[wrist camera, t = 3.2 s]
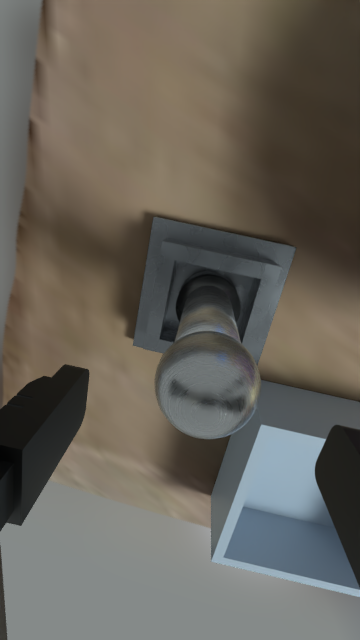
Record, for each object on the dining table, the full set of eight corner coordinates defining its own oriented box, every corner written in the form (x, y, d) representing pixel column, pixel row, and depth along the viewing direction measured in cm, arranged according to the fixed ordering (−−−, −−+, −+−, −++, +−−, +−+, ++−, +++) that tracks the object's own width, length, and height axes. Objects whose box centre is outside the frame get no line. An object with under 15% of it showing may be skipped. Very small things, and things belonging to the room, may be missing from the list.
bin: (249, 377, 25) (261, 424, 20) (415, 414, 25) (474, 473, 19) (210, 496, 30) (211, 561, 24) (348, 528, 30) (381, 602, 24)
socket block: (156, 216, 22) (146, 217, 18) (292, 245, 21) (307, 251, 18) (135, 340, 25) (124, 359, 22) (253, 366, 25) (259, 390, 22)
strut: (185, 265, 22) (150, 339, 9) (244, 278, 21) (297, 372, 9) (173, 321, 23) (130, 453, 10) (229, 333, 23) (254, 481, 10)
